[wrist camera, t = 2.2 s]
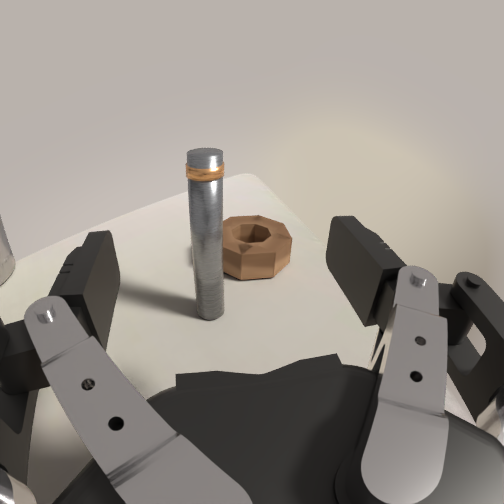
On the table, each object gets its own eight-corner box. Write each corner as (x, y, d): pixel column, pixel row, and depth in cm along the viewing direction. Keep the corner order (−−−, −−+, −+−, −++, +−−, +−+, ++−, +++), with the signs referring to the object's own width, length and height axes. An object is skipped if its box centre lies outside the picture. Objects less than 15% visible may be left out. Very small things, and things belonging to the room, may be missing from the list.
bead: (217, 281, 31) (216, 256, 30) (210, 240, 38) (210, 217, 36) (295, 275, 33) (299, 250, 31) (276, 236, 39) (278, 214, 38)
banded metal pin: (196, 321, 27) (185, 158, 19) (195, 301, 29) (185, 148, 21) (227, 319, 27) (226, 156, 20) (223, 299, 29) (222, 147, 22)
